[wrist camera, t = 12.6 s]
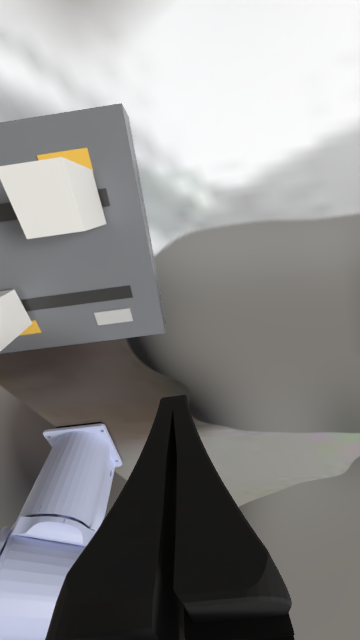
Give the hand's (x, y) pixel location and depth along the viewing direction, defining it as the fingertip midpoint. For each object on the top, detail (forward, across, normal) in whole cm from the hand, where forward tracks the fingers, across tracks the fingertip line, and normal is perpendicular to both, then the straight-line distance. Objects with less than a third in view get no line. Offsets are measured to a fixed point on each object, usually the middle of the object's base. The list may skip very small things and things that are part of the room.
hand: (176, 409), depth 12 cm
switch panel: (+10, +9, -7) cm, 15 cm away
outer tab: (+8, +5, -11) cm, 14 cm away
